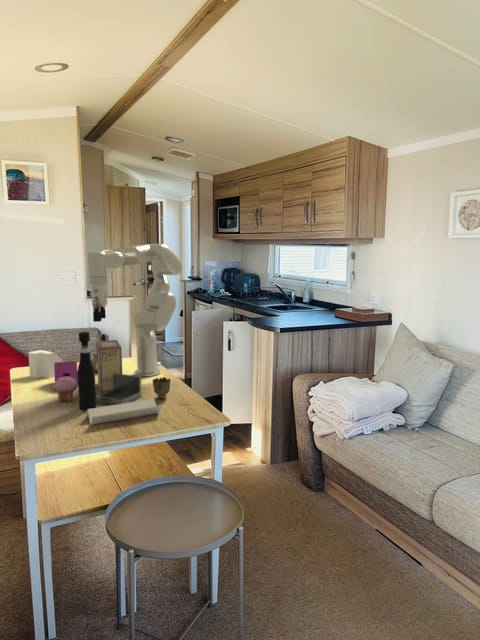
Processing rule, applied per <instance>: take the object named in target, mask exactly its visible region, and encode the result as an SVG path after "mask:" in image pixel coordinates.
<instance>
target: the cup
mask: <svg viewBox="0 0 480 640" xmlns="http://www.w3.org/2000/svg"><path fill="white" fill-rule="evenodd" d="M151 381H152V386H153V392H154V393H155V394H156V395H157V399H160V400H162V399H166V398H167V395H168V393H169V392H170V389H171V378H168V377H165V376H163V377H161V376H160V377H155V378H153V379H152V380H151Z"/></svg>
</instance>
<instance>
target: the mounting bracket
mask: <svg viewBox="0 0 480 640" xmlns="http://www.w3.org/2000/svg"><path fill="white" fill-rule="evenodd" d="M54 367H55V377H54V383H55V382H56V381H57V380H58V379H59V378H61V377H65V376H68V377H72V378H74V379H75V380H76V382H77V387H76V388H75V389H74V391H75V390H76V389H78V361H77V360H72V361H70V360H69V361H63V362H56V363H54Z"/></svg>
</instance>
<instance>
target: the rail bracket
mask: <svg viewBox="0 0 480 640" xmlns="http://www.w3.org/2000/svg"><path fill="white" fill-rule="evenodd" d="M141 380H142V376H137V375H131V374H125V373H122V374H116V373H114V374H113V386H114V389H112V390H110V391H108V392H105V393H103V394H101V393H100V394H99V395H96V404H101V405H106V406H111V405H118V404H124V403H130V402H136V401H137V400H139V399H142V381H141Z"/></svg>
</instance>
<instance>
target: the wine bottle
mask: <svg viewBox="0 0 480 640" xmlns="http://www.w3.org/2000/svg"><path fill="white" fill-rule="evenodd" d="M90 339H91V338H90V331H80V332H78V342H79V343H80V344H81V345H80V346H81V347H80V352H79V357H80V358H79V359H80V360H79V362H78V365H77V371H78V387H77V389H78V391H77V392H78V405H79V407H78V408H79V410H80V411H82V412H87V410H88V409H92V408H98V407H97V403H96V396H97V391H96V388H97V387H96V371H95V369H94V367H93V364H92V361H91V360H92V359H91V352H90V351H91V350H90V347H89V342H90V341H91V340H90Z"/></svg>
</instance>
